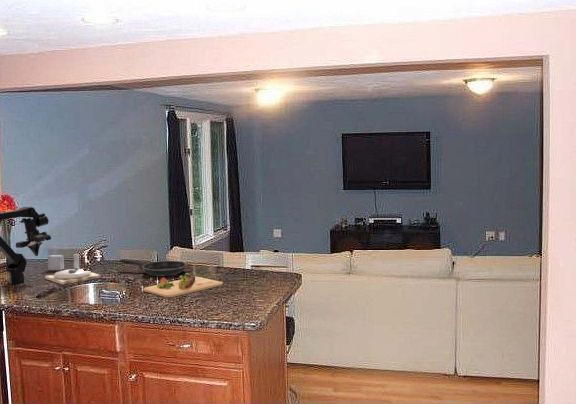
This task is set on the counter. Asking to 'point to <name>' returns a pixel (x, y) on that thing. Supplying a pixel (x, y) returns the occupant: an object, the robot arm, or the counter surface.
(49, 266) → the medicine box
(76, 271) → the white base with post
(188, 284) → the cutting board
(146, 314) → the counter surface
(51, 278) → the dial base
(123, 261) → the frying pan
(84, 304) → the counter surface
